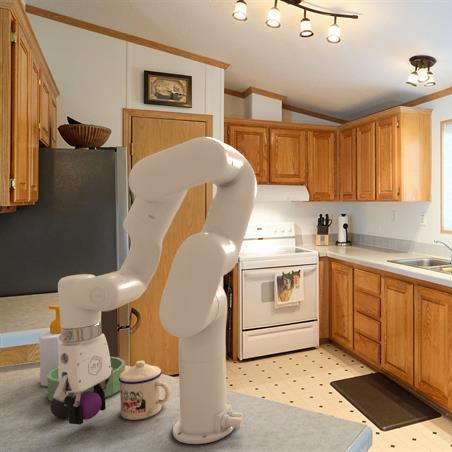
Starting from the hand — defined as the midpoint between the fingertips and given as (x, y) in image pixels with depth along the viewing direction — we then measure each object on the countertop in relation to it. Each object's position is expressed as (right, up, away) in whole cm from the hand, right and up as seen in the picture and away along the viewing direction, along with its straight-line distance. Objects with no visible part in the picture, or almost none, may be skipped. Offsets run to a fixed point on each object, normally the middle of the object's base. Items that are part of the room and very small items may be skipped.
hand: (87, 415), depth 92 cm
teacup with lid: (+10, -2, +7) cm, 12 cm away
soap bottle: (-22, -2, +29) cm, 36 cm away
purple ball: (0, -1, 0) cm, 1 cm away
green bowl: (-10, -2, +19) cm, 22 cm away
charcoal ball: (-8, -2, +5) cm, 10 cm away
